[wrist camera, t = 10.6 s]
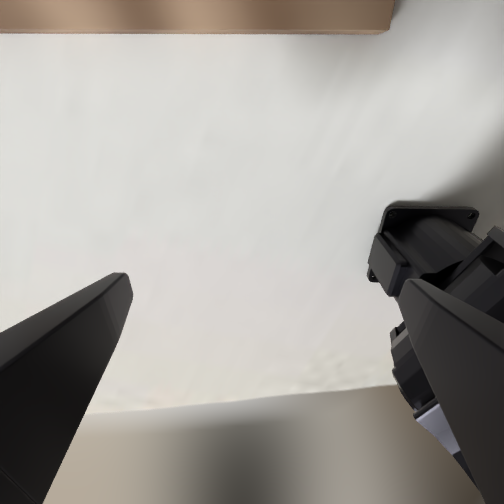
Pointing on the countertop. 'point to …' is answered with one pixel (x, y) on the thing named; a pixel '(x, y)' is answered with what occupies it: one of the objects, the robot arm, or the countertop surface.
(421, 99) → the countertop surface
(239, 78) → the countertop surface
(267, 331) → the countertop surface
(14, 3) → the gauge base
